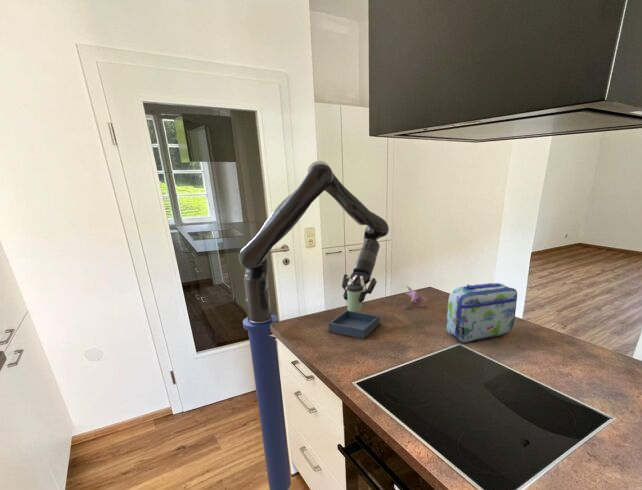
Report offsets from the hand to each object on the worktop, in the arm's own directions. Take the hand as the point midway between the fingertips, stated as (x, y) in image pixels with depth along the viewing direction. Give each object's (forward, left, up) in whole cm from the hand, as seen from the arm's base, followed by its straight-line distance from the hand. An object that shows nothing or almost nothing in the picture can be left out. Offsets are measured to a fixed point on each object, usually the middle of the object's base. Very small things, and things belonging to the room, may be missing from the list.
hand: (352, 300), depth 140 cm
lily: (+15, +36, -13) cm, 41 cm away
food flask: (0, +2, -4) cm, 5 cm away
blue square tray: (0, +2, -13) cm, 13 cm away
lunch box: (+47, +16, -13) cm, 51 cm away
